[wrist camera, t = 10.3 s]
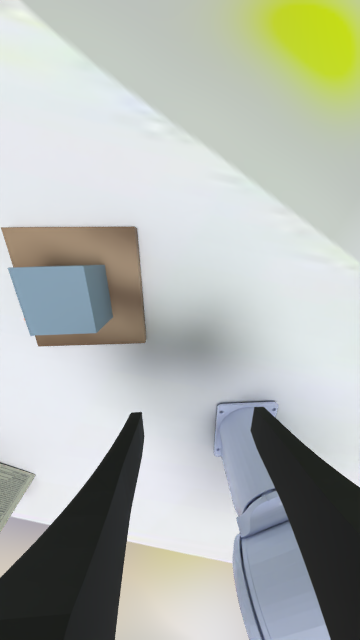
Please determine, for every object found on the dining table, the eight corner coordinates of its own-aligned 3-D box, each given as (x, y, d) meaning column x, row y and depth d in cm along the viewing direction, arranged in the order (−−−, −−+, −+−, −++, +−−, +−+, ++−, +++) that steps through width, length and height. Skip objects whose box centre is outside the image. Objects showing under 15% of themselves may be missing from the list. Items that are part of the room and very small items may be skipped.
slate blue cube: (113, 317, 17) (96, 333, 13) (61, 318, 17) (30, 335, 13) (104, 264, 16) (83, 265, 12) (48, 265, 15) (7, 267, 12)
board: (146, 338, 19) (140, 357, 16) (45, 341, 19) (14, 361, 15) (137, 228, 16) (126, 218, 12) (11, 229, 15) (-40, 219, 12)
